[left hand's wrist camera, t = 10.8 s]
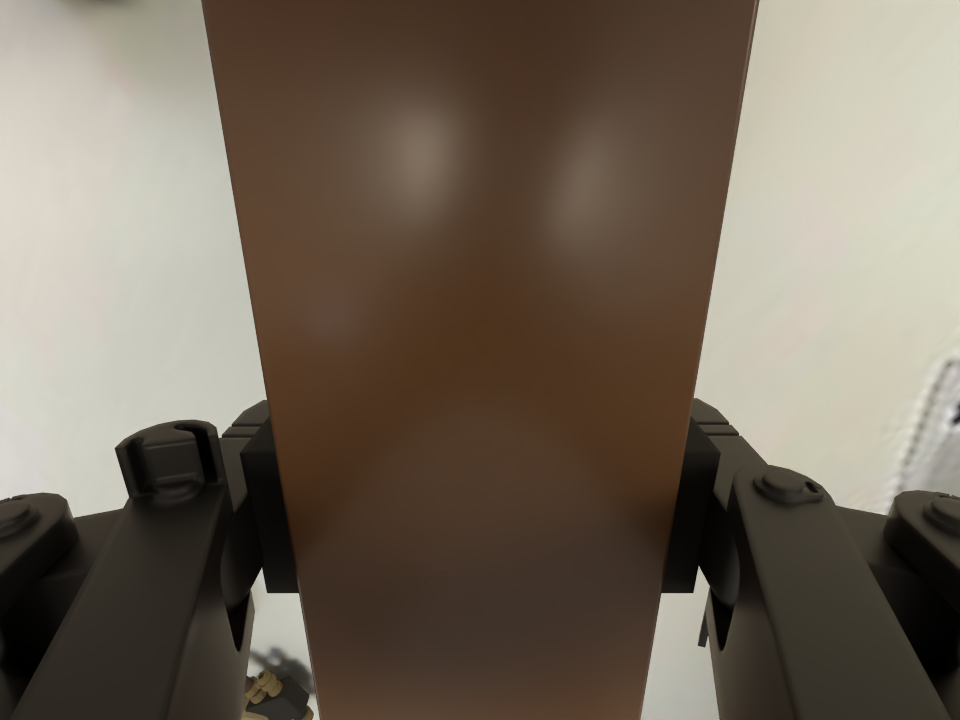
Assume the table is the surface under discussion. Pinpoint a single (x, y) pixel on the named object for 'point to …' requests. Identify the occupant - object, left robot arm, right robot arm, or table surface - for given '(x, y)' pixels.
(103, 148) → the table surface
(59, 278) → the table surface
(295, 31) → the beam
